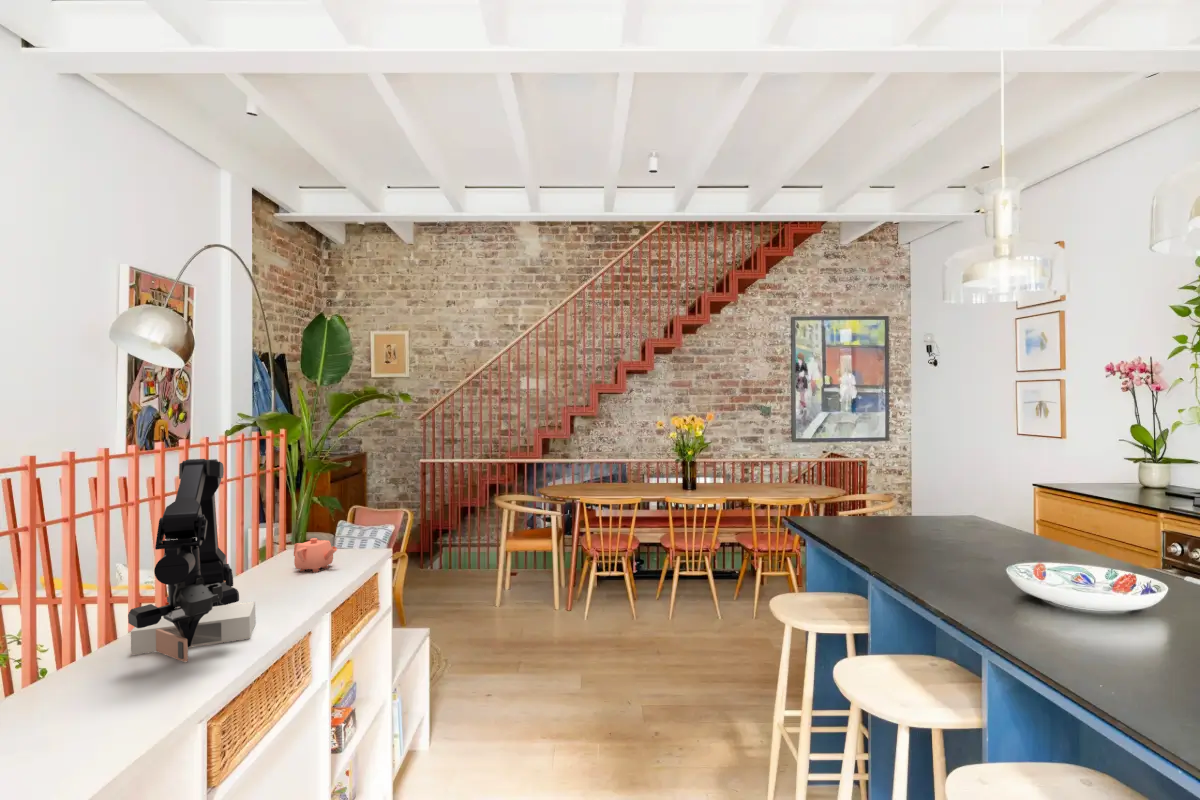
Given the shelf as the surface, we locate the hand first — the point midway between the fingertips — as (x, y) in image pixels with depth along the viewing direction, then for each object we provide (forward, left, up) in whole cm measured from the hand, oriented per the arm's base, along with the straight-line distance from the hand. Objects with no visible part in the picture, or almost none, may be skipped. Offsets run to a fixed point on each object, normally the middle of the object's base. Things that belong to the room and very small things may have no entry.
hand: (188, 646), depth 135 cm
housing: (-13, 0, -2) cm, 13 cm away
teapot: (-68, +23, -3) cm, 71 cm away
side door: (-1, -3, -2) cm, 4 cm away
